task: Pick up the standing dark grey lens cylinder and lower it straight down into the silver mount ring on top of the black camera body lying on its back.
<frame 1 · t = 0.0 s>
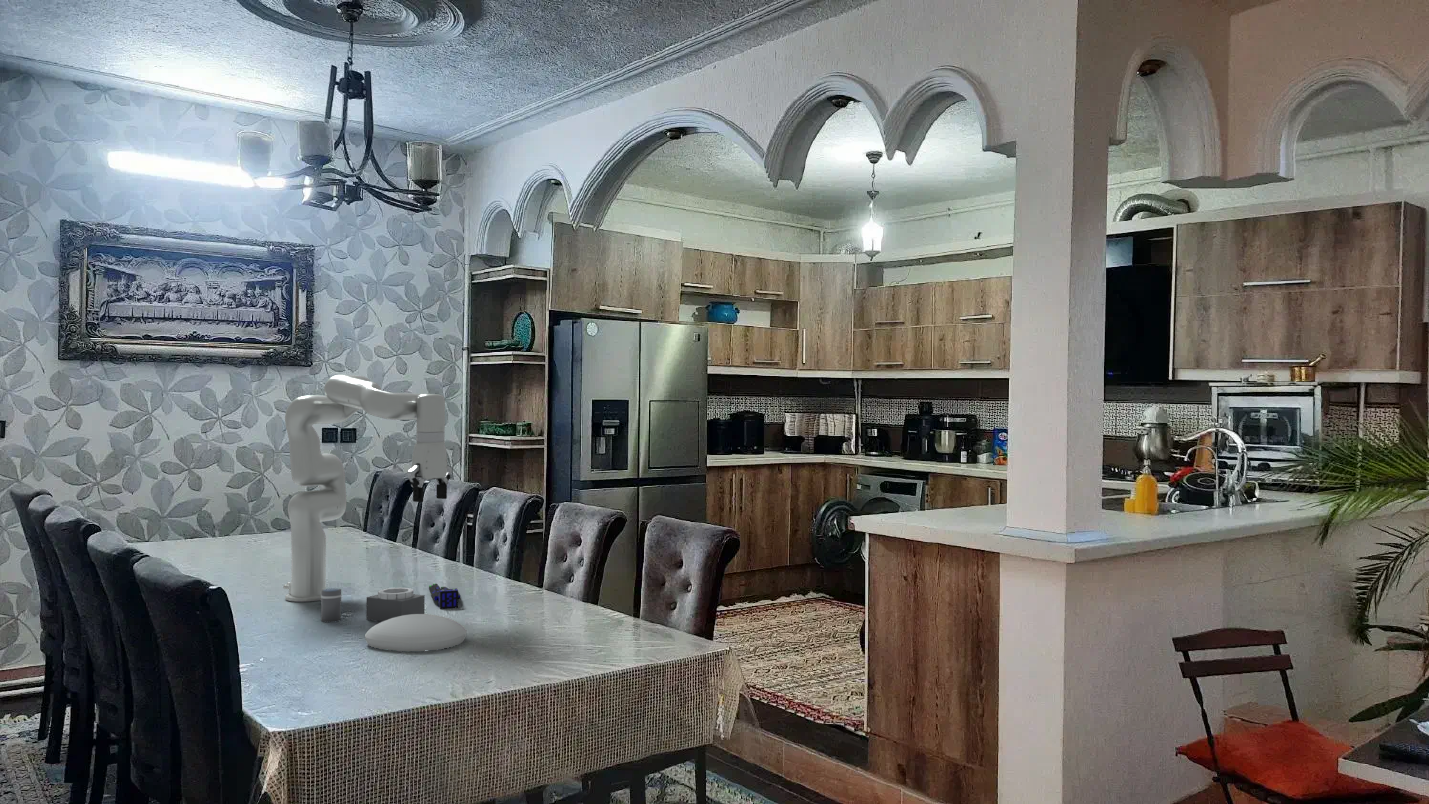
hand: (430, 500, 281), 31 cm above the table, tool pointing down, fingers open, 9 cm apart
camera body: (395, 618, 273), on the table
lens: (331, 620, 271), on the table
toy: (445, 600, 301), on the table
decorative item: (417, 644, 247), on the table
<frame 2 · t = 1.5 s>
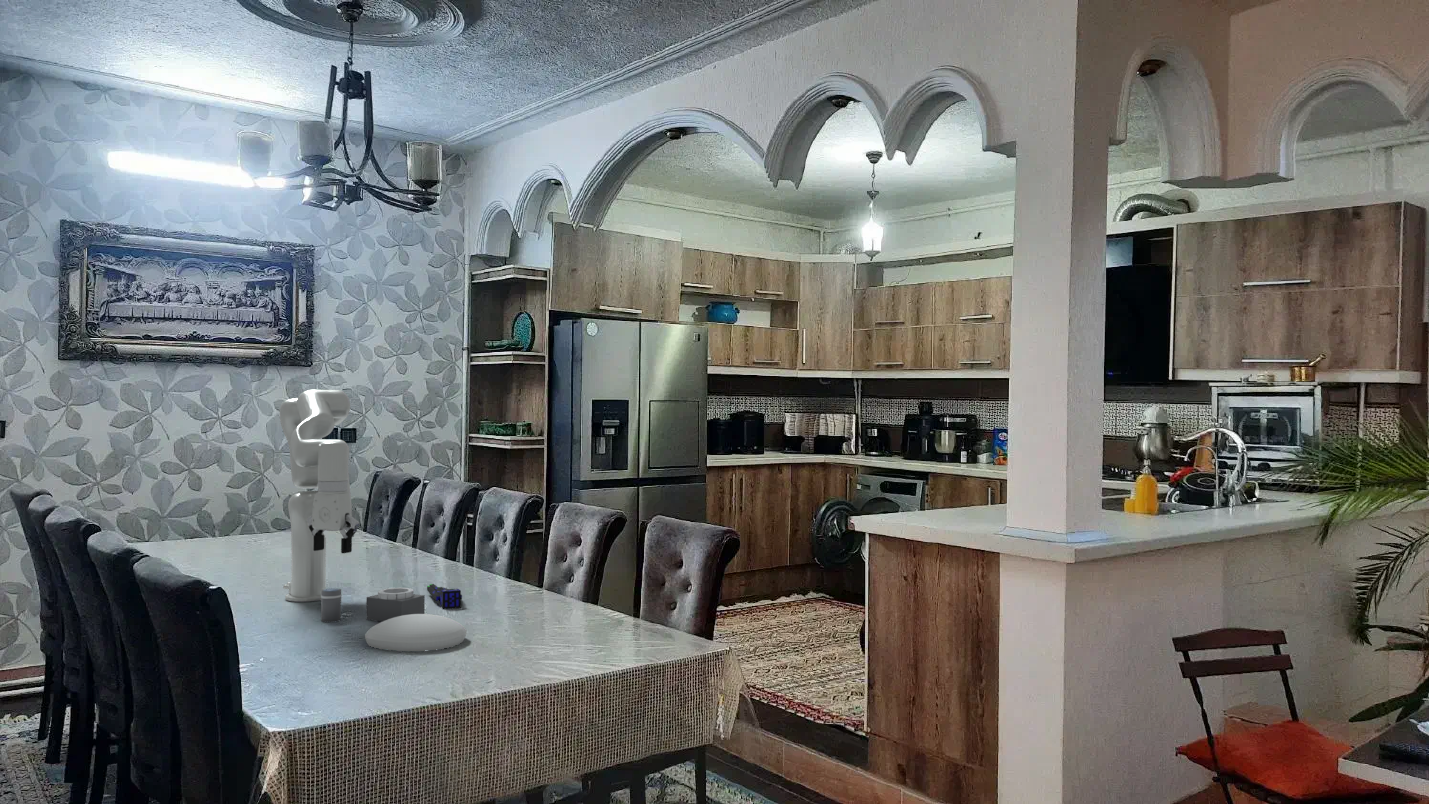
hand: (332, 551, 271), 18 cm above the table, tool pointing down, fingers open, 9 cm apart
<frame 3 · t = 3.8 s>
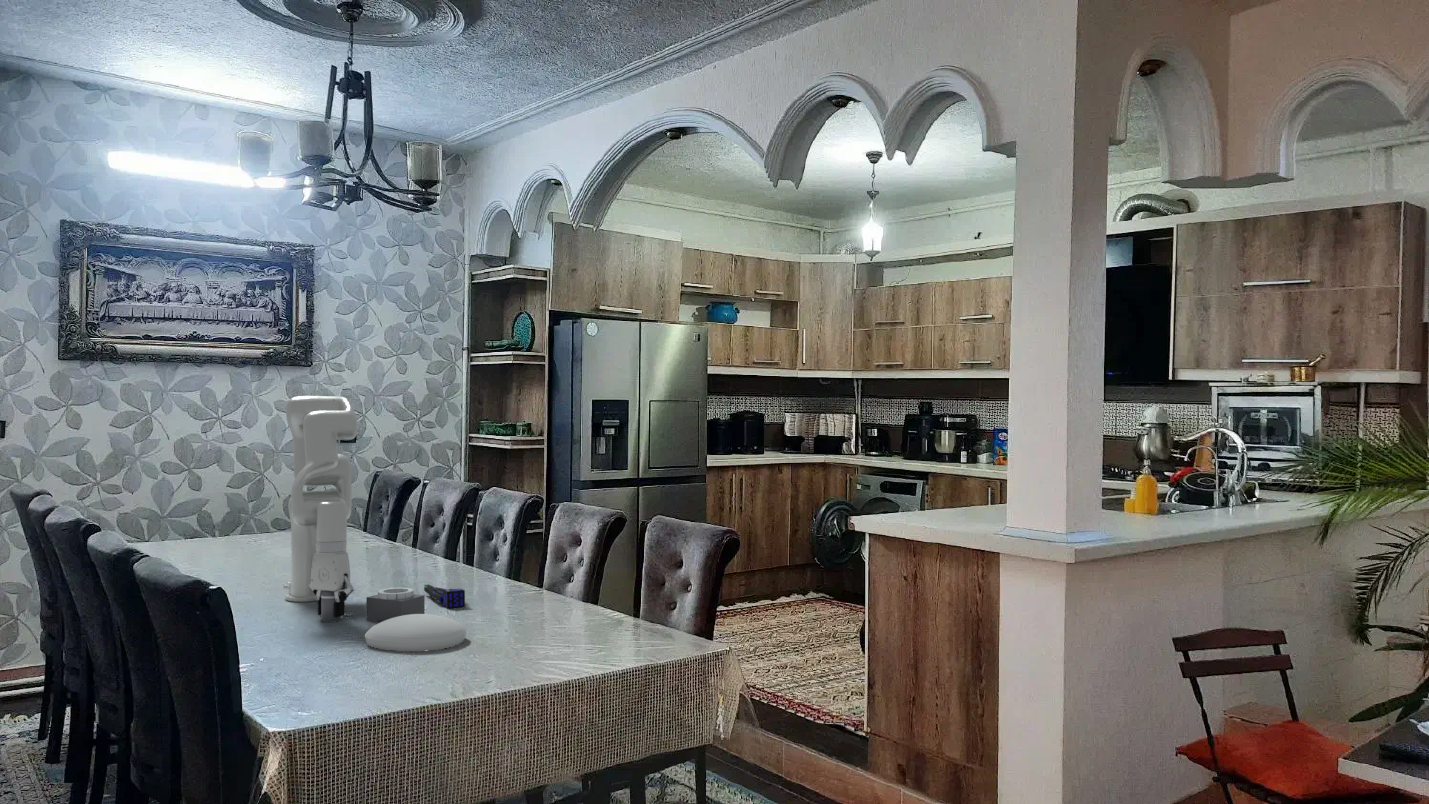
hand: (331, 614, 271), 1 cm above the table, tool pointing down, fingers closed on lens, 5 cm apart
lens: (331, 620, 271), on the table, touching gripper
when the fingers open (9 cm above the table, at t = 8.3 s): lens drops 1 cm, resting on camera body.
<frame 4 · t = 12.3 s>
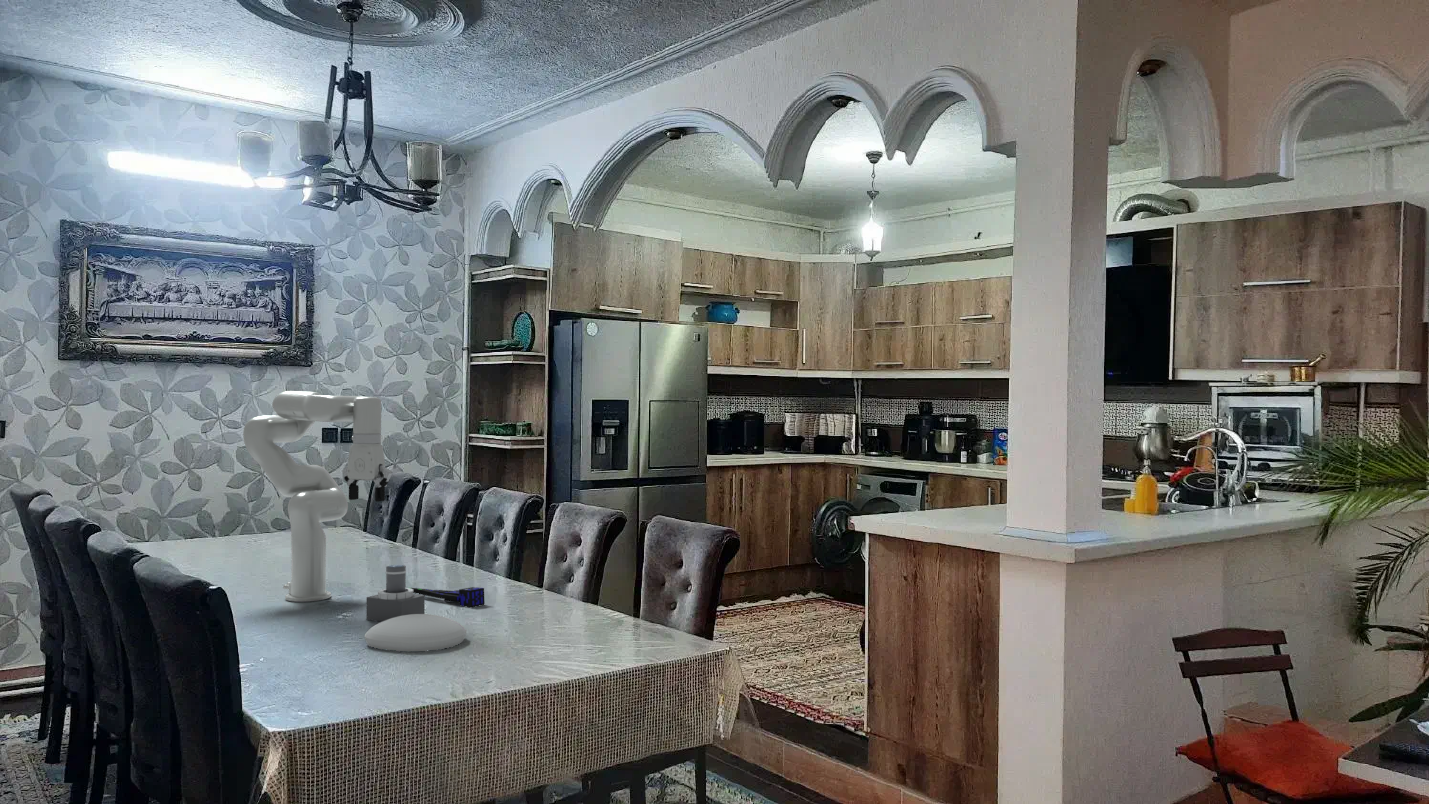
hand: (366, 500, 288), 30 cm above the table, tool pointing down, fingers open, 9 cm apart
lens: (395, 596, 273), point 6 cm above the table, touching camera body
at the end: lens 0.1 cm off-centre on the camera body, point 6.0 cm above the camera body's base; lens tilted 1°; the gripper is holding nothing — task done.
